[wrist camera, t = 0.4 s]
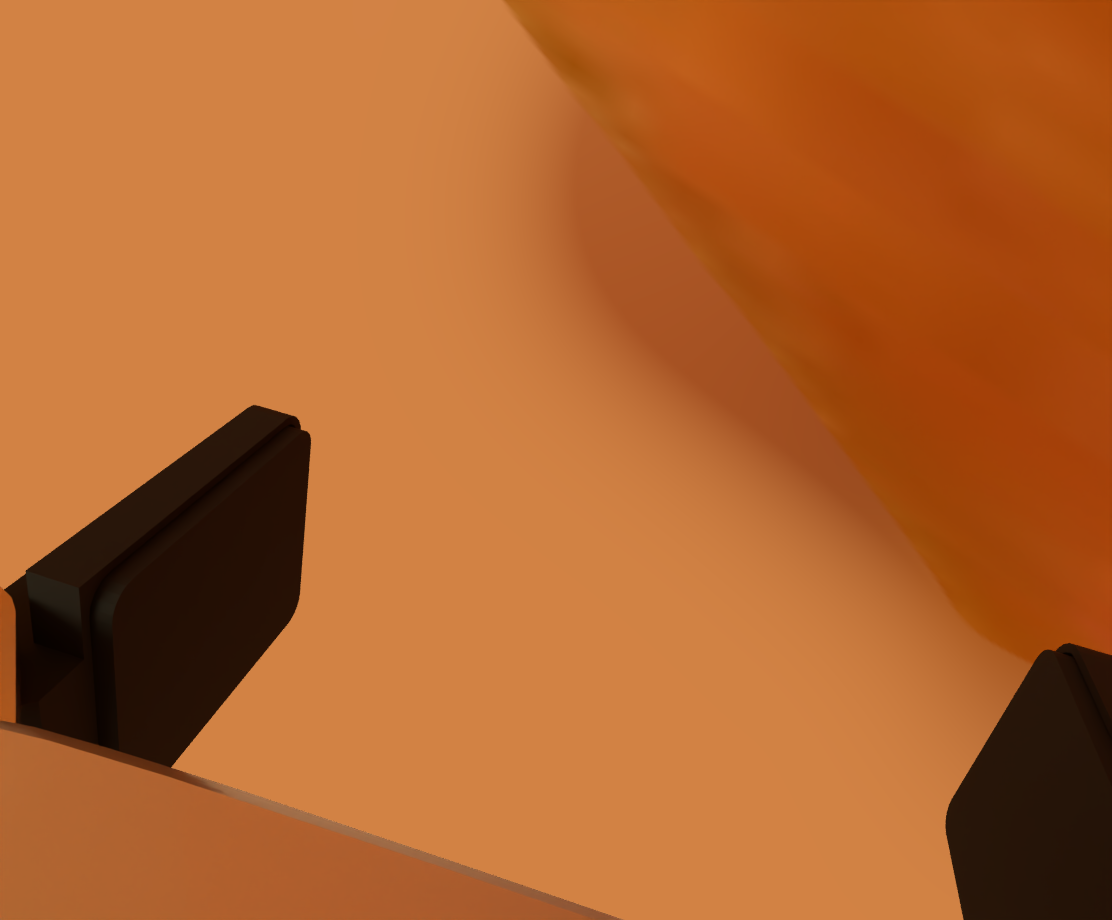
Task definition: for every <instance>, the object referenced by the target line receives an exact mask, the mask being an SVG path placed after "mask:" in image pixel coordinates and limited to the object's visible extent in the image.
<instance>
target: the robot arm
mask: <svg viewBox="0 0 1112 920" xmlns="http://www.w3.org/2000/svg"><path fill="white" fill-rule="evenodd" d="M310 449H311V438H310V434H309V433H308V432H307V431H304V430H301V426H300V422H299V420H298V419H297V418H296V417H295V416H291V415H288V414H285V413H281V412H278V411H274V410H271V409H268V408H264V407H261V406H256V405H253V406H251V407H249V408H247V409H246V410H244V411H243V412H242V413H241V414H239V415H238V416H236V417H235V418H234V419H232V420H231V421H230V422H228V423H227V424H225V425H224V426H223V427H221V428H220V429H218V430H217V431H216V432H214V433H213V434H212V435H210V436H209V437H208V438H206V439H205V440H203V441H202V442H201V443H199V444H198V445H197V446H195V447H194V448H193V449H191V450H190V451H188V452H187V453H186V454H184V455H183V456H182V457H180V458H179V459H177V460H176V461H175V462H174V463H172V464H171V465H169V466H168V467H167V468H165V469H164V470H162V471H161V472H160V473H158V474H157V475H156V476H154V477H153V478H152V479H150V480H149V481H147V482H146V483H145V484H143V485H142V486H141V487H139V488H138V489H137V490H135V491H134V492H132V493H131V494H130V495H128V496H127V497H126V498H124V499H123V500H121V501H120V502H119V503H117V504H116V505H115V506H113V507H112V508H111V509H109V510H108V511H107V512H105V513H104V514H102V515H101V516H100V517H98V518H97V519H96V520H94V521H93V522H91V523H90V524H89V525H87V526H86V527H85V528H83V529H82V530H81V531H79V532H78V533H76V534H75V535H74V536H73V537H71V538H70V539H68V540H67V541H66V542H64V543H63V544H61V545H60V546H59V547H57V548H56V549H55V550H53V551H52V552H51V553H49V554H48V555H47V556H45V557H44V558H43V559H41V560H40V561H38V562H37V563H35V564H34V565H33V566H31V567H30V568H29V569H28V570H26V574H25V575H24V576H22V577H21V578H19V579H18V580H17V581H15V582H14V583H13V584H11V585H10V586H8V587H7V588H6V589H4V590H3V589H2V588H1V587H0V920H622V919H619V918H616V917H614V916H611V915H608V914H605V913H602V912H599V911H596V910H593V909H590V908H587V907H584V906H581V905H578V904H576V903H573V902H570V901H567V900H564V899H561V898H558V897H555V896H552V895H549V894H546V893H543V892H540V891H538V890H535V889H532V888H529V887H526V886H523V885H520V884H517V883H514V882H511V881H508V880H505V879H502V878H500V877H497V876H494V875H491V874H487V873H485V872H482V871H479V870H476V869H473V868H470V867H467V866H464V865H461V864H459V863H455V862H453V861H450V860H447V859H444V858H440V857H437V856H435V855H432V854H429V853H426V852H423V851H420V850H417V849H414V848H411V847H408V846H405V845H402V844H399V843H396V842H393V841H390V840H387V839H384V838H381V837H378V836H375V835H372V834H369V833H366V832H363V831H360V830H357V829H355V828H352V827H349V826H346V825H342V824H340V823H337V822H333V821H331V820H328V819H325V818H322V817H319V816H316V815H313V814H310V813H307V812H304V811H301V810H298V809H295V808H292V807H289V806H286V805H283V804H280V803H277V802H274V801H271V800H268V799H265V798H262V797H259V796H256V795H253V794H250V793H247V792H244V791H241V790H238V789H235V788H232V787H229V786H226V785H223V784H220V783H217V782H214V781H210V780H207V779H204V778H201V777H198V776H195V775H192V774H188V773H186V772H182V771H179V770H176V769H173V768H171V767H172V765H173V764H174V763H175V762H176V760H177V759H178V758H179V757H180V756H181V754H182V753H183V752H184V751H185V749H186V748H187V747H188V746H189V745H190V743H191V742H192V741H193V739H194V738H195V737H196V736H197V735H198V733H199V732H200V731H201V730H202V729H203V727H204V726H205V725H206V724H207V722H208V721H209V720H210V719H211V718H212V716H213V715H214V714H215V713H216V711H217V710H218V709H219V708H220V706H221V705H222V704H223V703H224V701H225V700H226V699H227V698H228V696H229V695H230V694H231V693H232V691H233V690H234V689H235V688H236V687H237V685H238V684H239V683H240V682H241V681H242V679H243V678H244V677H245V676H246V674H247V673H248V672H249V671H250V670H251V668H252V667H253V666H254V665H255V663H256V662H257V661H258V660H259V659H260V657H261V656H262V655H263V654H264V652H265V651H266V650H267V649H268V647H269V646H270V645H271V644H272V642H273V641H274V640H275V639H276V638H277V636H278V635H279V634H280V633H281V632H282V630H283V629H284V628H285V626H286V625H287V624H288V623H289V621H290V620H291V618H292V616H293V614H294V613H295V610H296V607H297V604H298V601H299V595H300V584H301V583H300V582H301V570H302V556H303V544H304V543H303V542H304V530H305V517H306V503H307V489H308V476H309V475H308V474H309V461H310ZM946 835H947V840H948V845H949V849H950V855H951V859H952V865H953V870H954V875H955V879H956V884H957V889H958V894H959V899H960V904H961V909H962V914H963V919H964V920H1112V655H1108V654H1105V653H1101V652H1098V651H1095V650H1091V649H1088V648H1084V647H1081V646H1078V645H1074V644H1071V643H1068V644H1063V645H1062V646H1061V647H1059V648H1058V649H1057V650H1056V651H1052V650H1045V651H1043V652H1042V653H1041V654H1040V655H1039V656H1038V657H1037V659H1036V660H1035V662H1034V664H1033V665H1032V667H1031V669H1030V670H1029V672H1028V674H1027V675H1026V677H1025V679H1024V681H1023V682H1022V684H1021V685H1020V687H1019V688H1018V690H1017V692H1016V693H1015V695H1014V697H1013V699H1012V700H1011V702H1010V703H1009V705H1008V707H1007V708H1006V710H1005V712H1004V713H1003V715H1002V717H1001V718H1000V720H999V722H998V723H997V725H996V727H995V728H994V730H993V732H992V733H991V735H990V737H989V738H988V740H987V742H986V743H985V745H984V747H983V748H982V750H981V752H980V753H979V755H978V757H977V758H976V760H975V762H974V763H973V765H972V767H971V768H970V770H969V772H968V773H967V775H966V776H965V778H964V780H963V781H962V783H961V785H960V786H959V788H958V790H957V791H956V793H955V795H954V796H953V798H952V800H951V802H950V804H949V807H948V811H947V815H946Z"/></svg>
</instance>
